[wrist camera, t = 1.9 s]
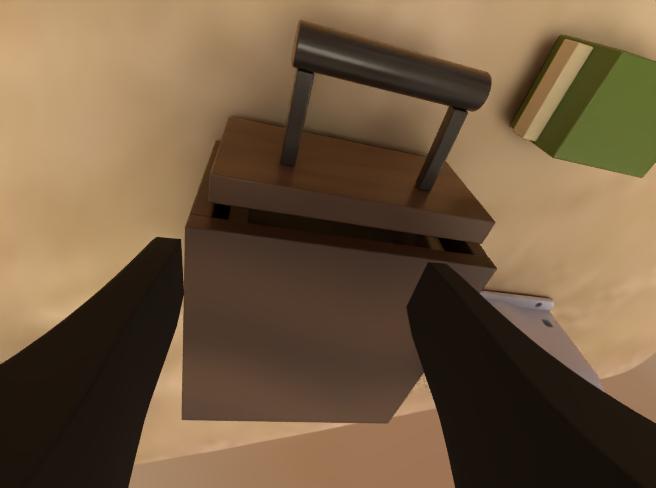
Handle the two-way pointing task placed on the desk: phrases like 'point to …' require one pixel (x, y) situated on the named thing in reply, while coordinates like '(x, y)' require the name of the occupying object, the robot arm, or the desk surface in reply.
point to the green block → (593, 107)
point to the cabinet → (301, 319)
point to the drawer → (355, 153)
